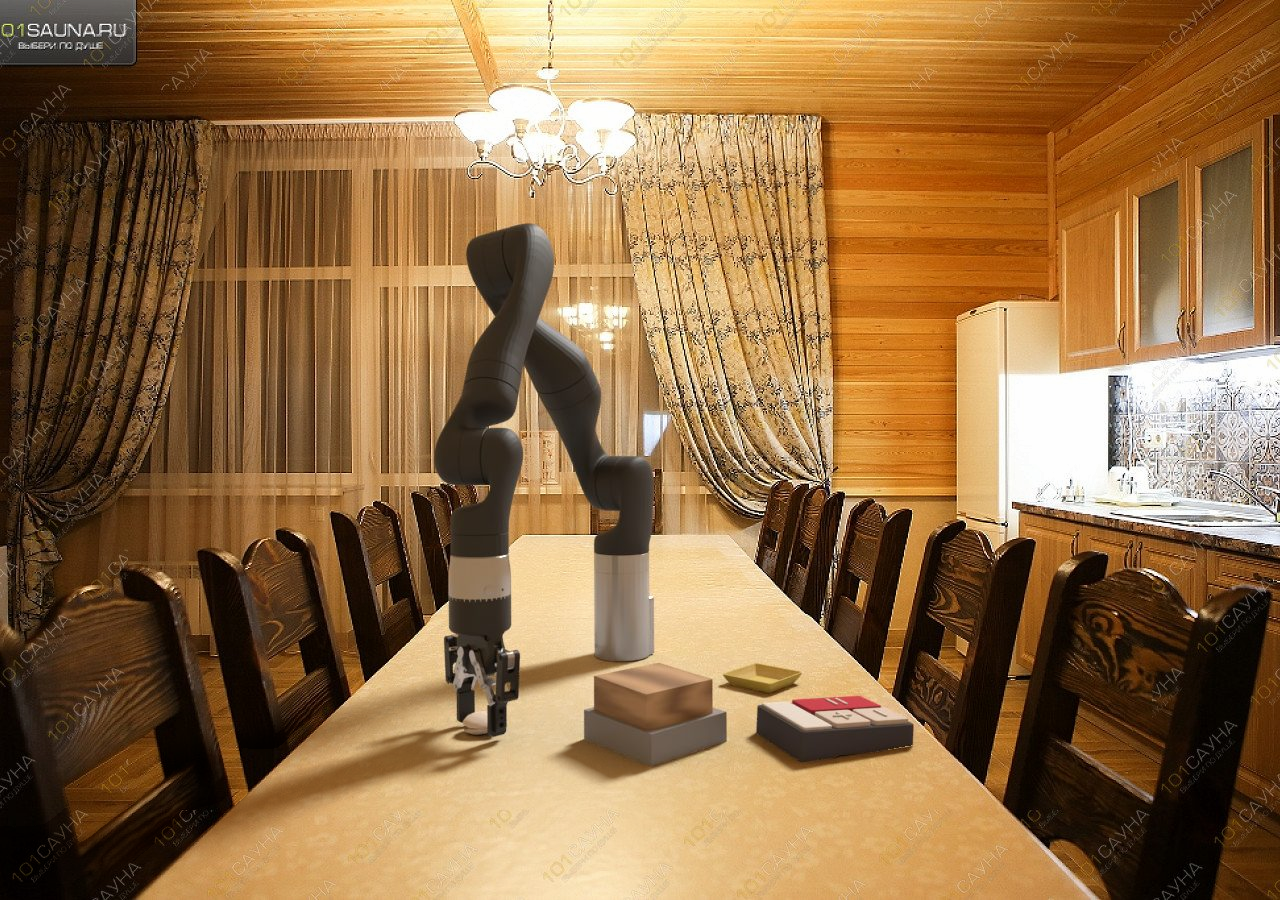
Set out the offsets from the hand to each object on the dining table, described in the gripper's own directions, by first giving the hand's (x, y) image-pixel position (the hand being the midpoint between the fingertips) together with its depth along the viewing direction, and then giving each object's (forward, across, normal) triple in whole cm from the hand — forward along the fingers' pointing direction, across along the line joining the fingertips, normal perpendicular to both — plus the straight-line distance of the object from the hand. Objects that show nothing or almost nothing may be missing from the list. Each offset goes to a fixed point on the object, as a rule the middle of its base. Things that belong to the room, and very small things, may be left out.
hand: (480, 727), depth 105 cm
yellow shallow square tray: (+1, -9, -42) cm, 43 cm away
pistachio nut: (+1, 0, 0) cm, 1 cm away
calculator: (+1, -30, -30) cm, 43 cm away
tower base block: (+1, -16, -14) cm, 21 cm away
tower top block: (-3, -16, -14) cm, 21 cm away
